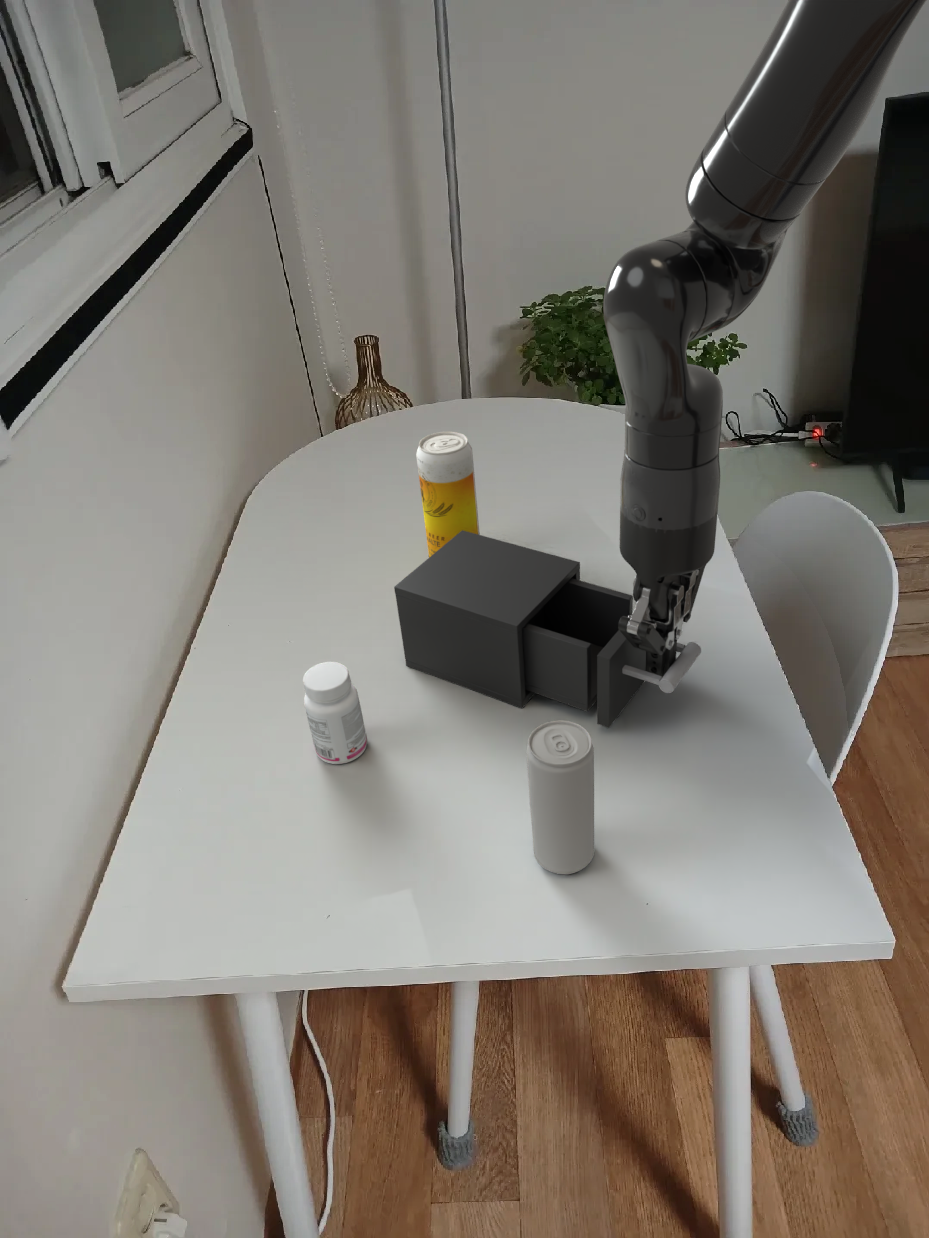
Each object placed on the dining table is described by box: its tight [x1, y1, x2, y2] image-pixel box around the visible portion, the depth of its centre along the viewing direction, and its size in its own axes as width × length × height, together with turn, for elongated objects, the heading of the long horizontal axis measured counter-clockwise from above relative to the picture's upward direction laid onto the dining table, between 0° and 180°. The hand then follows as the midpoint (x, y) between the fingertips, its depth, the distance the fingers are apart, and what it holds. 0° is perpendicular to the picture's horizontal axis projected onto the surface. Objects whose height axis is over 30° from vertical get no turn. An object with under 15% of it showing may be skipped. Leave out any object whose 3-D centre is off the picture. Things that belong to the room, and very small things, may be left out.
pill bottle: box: [302, 661, 368, 765], centre depth 84 cm, size 5×5×8 cm
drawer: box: [522, 578, 702, 729], centre depth 87 cm, size 17×10×8 cm, turn 56°
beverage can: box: [526, 719, 595, 875], centre depth 71 cm, size 5×5×12 cm
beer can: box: [415, 431, 481, 558], centre depth 107 cm, size 6×6×15 cm
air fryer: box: [393, 530, 581, 709], centre depth 93 cm, size 14×12×10 cm
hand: (660, 673), depth 85 cm, fingers closed
